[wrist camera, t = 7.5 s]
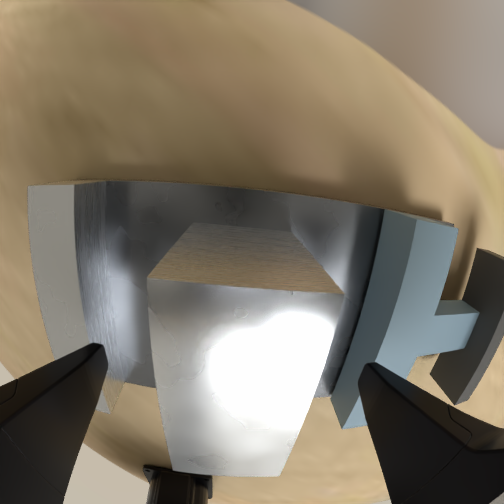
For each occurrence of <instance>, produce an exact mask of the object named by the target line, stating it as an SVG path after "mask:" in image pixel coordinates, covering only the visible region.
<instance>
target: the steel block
mask: <svg viewBox="0 0 504 504" xmlns="http://www.w3.org/2000/svg"><path fill="white" fill-rule="evenodd" d="M344 295H345V294H344V292H343V291H342V290H341V289H340V288H339V286H338V285H337V284H336V283H335V282H334V280H333V279H332V278H331V277H330V276H329V274H328V273H327V272H326V271H325V270H324V269H323V267H322V266H321V265H320V264H319V263H318V262H317V260H316V259H315V258H314V257H313V256H312V255H311V254H310V252H309V251H308V250H307V249H306V248H305V247H304V246H303V244H302V243H301V242H300V241H299V240H298V239H297V238H296V236H295V235H294V234H293V233H292V232H288V231H278V230H269V229H259V228H249V227H238V226H228V225H217V224H206V223H194V222H193V223H192V225H191V226H190V227H189V228H188V229H187V230H186V231H185V233H184V234H183V235H182V236H181V237H180V238H179V239H178V241H177V242H176V243H175V244H174V245H173V246H172V248H171V249H170V250H169V251H168V252H167V253H166V255H165V256H164V257H163V258H162V259H161V261H160V262H159V263H158V264H157V265H156V267H155V268H154V269H153V270H152V272H151V273H150V274H149V275H148V276H147V297H148V314H149V328H150V339H151V349H152V358H153V367H154V375H155V382H156V389H157V395H158V401H159V407H160V413H161V418H162V424H163V429H164V434H165V438H166V443H167V447H168V452H169V456H170V460H171V464H172V468H173V471H180V472H187V473H195V474H204V475H216V476H234V477H272V476H280V474H281V472H282V470H283V467H284V465H285V463H286V461H287V459H288V457H289V455H290V452H291V450H292V448H293V446H294V443H295V441H296V439H297V436H298V434H299V432H300V429H301V427H302V424H303V422H304V419H305V417H306V414H307V412H308V409H309V407H310V404H311V401H312V399H313V396H314V393H315V390H316V388H317V385H318V382H319V379H320V376H321V373H322V370H323V367H324V364H325V361H326V358H327V355H328V352H329V348H330V345H331V342H332V339H333V335H334V332H335V328H336V325H337V321H338V318H339V314H340V310H341V306H342V303H343V299H344Z"/></svg>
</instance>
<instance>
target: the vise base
mask: <svg viewBox="0 0 504 504" xmlns="http://www.w3.org/2000/svg"><path fill="white" fill-rule="evenodd" d="M385 209H386V210H391V211H396V212H401V213H406V214H411V215H415V216H420V217H424V218H428V219H431V220H434V221H437V222H440V223H443V224H446V225H449V226H452V227H454V224H452V223H449V222H445V221H442V220H438V219H434V218H430V217H425V216H421V215H416V214H412V213H407V212H402V211H397V210H393V209H388V208H382V207H377V206H372V205H366V204H361V203H355V202H349V201H343V200H337V199H331V198H325V197H318V196H311V195H304V194H297V193H289V192H281V191H273V190H265V189H256V188H246V187H236V186H225V185H213V184H201V183H186V182H168V181H146V180H68V181H60V182H52V183H44V184H37V185H31V186H28V226H29V239H30V250H31V258H32V266H33V273H34V279H35V285H36V290H37V295H38V300H39V305H40V309H41V313H42V318H43V321H44V325H45V329H46V333H47V336H48V340H49V343H50V346H51V349H52V353H53V356H54V359H55V360H57V359H59V358H61V357H63V356H65V355H67V354H69V353H71V352H74V351H76V350H78V349H80V348H82V347H84V346H86V345H88V344H90V343H92V342H95V343H100V344H103V345H104V347H105V351H106V355H107V360H108V370H107V374H106V377H105V380H104V384H103V387H102V390H101V394H100V397H99V401H98V404H97V406H96V409H95V410H97V411H101V412H104V413H108V414H111V412H112V410H113V408H114V406H115V403H116V401H117V399H118V397H119V394H120V392H121V390H122V388H123V385H124V383H125V382H127V383H132V384H137V385H142V386H147V387H153V388H156V382H155V375H154V367H153V358H152V349H151V339H150V328H149V314H148V297H147V276H148V275H149V274H150V273H151V272H152V270H153V269H154V268H155V267H156V265H157V264H158V263H159V262H160V261H161V259H162V258H163V257H164V256H165V255H166V253H167V252H168V251H169V250H170V249H171V248H172V246H173V245H174V244H175V243H176V242H177V241H178V239H179V238H180V237H181V236H182V235H183V234H184V233H185V231H186V230H187V229H188V228H189V227H190V226H191V225H192V223H193V222H194V223H206V224H217V225H228V226H238V227H249V228H259V229H269V230H278V231H288V232H292V233H293V234H294V235H295V236H296V238H297V239H298V240H299V241H300V242H301V243H302V244H303V246H304V247H305V248H306V249H307V250H308V251H309V252H310V254H311V255H312V256H313V257H314V258H315V259H316V260H317V262H318V263H319V264H320V265H321V266H322V267H323V269H324V270H325V271H326V272H327V273H328V274H329V276H330V277H331V278H332V279H333V280H334V282H335V283H336V284H337V285H338V286H339V288H340V289H341V290H342V291H343V292H344V294H345V295H344V299H343V303H342V306H341V310H340V314H339V318H338V321H337V325H336V328H335V332H334V335H333V339H332V342H331V345H330V348H329V352H328V355H327V358H326V361H325V364H324V367H323V370H322V373H321V376H320V379H319V382H318V385H317V388H316V390H315V393H314V396H313V398H315V397H330V396H332V394H333V391H334V389H335V386H336V384H337V381H338V379H339V376H340V374H341V371H342V368H343V366H344V363H345V360H346V357H347V355H348V352H349V349H350V346H351V343H352V340H353V337H354V334H355V331H356V328H357V324H358V321H359V318H360V315H361V311H362V308H363V304H364V301H365V297H366V294H367V290H368V286H369V282H370V278H371V274H372V270H373V266H374V261H375V257H376V253H377V248H378V243H379V238H380V233H381V228H382V222H383V217H384V211H385Z"/></svg>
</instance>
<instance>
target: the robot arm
mask: <svg viewBox="0 0 504 504" xmlns="http://www.w3.org/2000/svg"><path fill="white" fill-rule="evenodd" d="M107 370H108V360H107V355H106V351H105V347H104V345H103V344H100V343H95V342H92V343H90V344H88V345H86V346H84V347H82V348H80V349H78V350H76V351H74V352H71V353H69V354H67V355H65V356H63V357H61V358H59V359H57V360H55V361H53V362H51V363H49V364H47V365H45V366H43V367H40V368H38V369H36V370H34V371H32V372H30V373H28V374H26V375H24V376H22V377H20V378H18V379H15V380H13V381H11V382H9V383H7V384H5V385H2V386H0V504H63V501H64V496H65V493H66V490H67V487H68V483H69V480H70V477H71V474H72V471H73V468H74V465H75V462H76V459H77V456H78V453H79V450H80V447H81V445H82V442H83V440H84V437H85V434H86V432H87V429H88V426H89V424H90V421H91V419H92V416H93V414H94V411H95V409H96V406H97V404H98V401H99V397H100V394H101V390H102V387H103V384H104V380H105V377H106V374H107ZM358 389H359V393H360V398H361V402H362V407H363V411H364V415H365V419H366V423H367V426H368V429H369V432H370V435H371V438H372V441H373V444H374V447H375V450H376V453H377V456H378V459H379V462H380V466H381V469H382V472H383V475H384V479H385V482H386V485H387V489H388V492H389V496H390V499H391V503H392V504H504V429H503V428H498V427H496V426H493V425H491V424H488V423H486V422H484V421H481V420H479V419H477V418H474V417H472V416H470V415H468V414H466V413H464V412H462V411H460V410H458V409H456V408H454V407H453V406H451V405H449V404H447V403H445V402H444V401H442V400H440V399H438V398H437V397H435V396H433V395H431V394H430V393H428V392H426V391H424V390H423V389H421V388H419V387H417V386H416V385H414V384H412V383H411V382H409V381H407V380H406V379H404V378H402V377H400V376H399V375H397V374H395V373H394V372H392V371H390V370H389V369H387V368H385V367H384V366H382V365H380V364H379V363H377V362H370V363H366V364H365V365H364V367H363V369H362V372H361V374H360V376H359V379H358ZM143 472H144V474H145V476H146V478H147V480H148V482H149V484H150V487H149V492H148V498H147V502H146V504H208V499H211V498H212V476H211V475H204V474H195V473H187V472H180V471H173V470H169V469H163V468H158V467H153V466H148V465H144V466H143Z"/></svg>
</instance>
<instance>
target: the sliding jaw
mask: <svg viewBox="0 0 504 504" xmlns="http://www.w3.org/2000/svg"><path fill="white" fill-rule="evenodd" d="M457 234H458V228H455V227H452V226H449V225H446V224H443V223H440V222H437V221H434V220H431V219H428V218H424V217H420V216H415V215H411V214H406V213H401V212H396V211H391V210H386V209H385V211H384V217H383V222H382V228H381V233H380V238H379V243H378V248H377V253H376V257H375V261H374V266H373V270H372V274H371V278H370V282H369V286H368V290H367V294H366V297H365V301H364V304H363V308H362V311H361V315H360V318H359V321H358V324H357V328H356V331H355V334H354V337H353V340H352V343H351V346H350V349H349V352H348V355H347V357H346V360H345V363H344V366H343V368H342V371H341V374H340V376H339V379H338V381H337V384H336V386H335V389H334V391H333V394H332V396H331V398H330V399H331V402H332V404H333V407H334V410H335V412H336V415H337V418H338V420H339V423H340V426H341V428H342V429H348V428H355V427H361V426H366V425H367V423H366V419H365V415H364V411H363V407H362V402H361V398H360V393H359V389H358V379H359V376H360V374H361V372H362V369H363V367H364V365H365V364H366V363H370V362H377V363H379V364H380V365H382V366H384V367H385V368H387V369H389V370H390V371H392V372H394V373H395V374H397V375H399V376H400V377H402V378H404V379H406V378H407V376H408V374H409V372H410V370H411V368H412V366H413V364H414V362H415V360H416V358H417V356H424V355H431V354H437V353H440V354H439V357H438V359H437V361H436V363H435V365H434V367H433V369H432V370H431V372H430V375H431V376H432V378H433V379H434V380H435V381H436V383H437V384H438V385H439V386H440V388H441V389H442V390H443V391H444V393H445V394H446V395H447V396H448V398H449V399H450V400H451V402H452V403H453V404H454V405H457V404H459V403H462V402H464V401H467V400H468V399H469V398H470V396H471V395H472V393H473V391H474V390H475V388H476V387H477V385H478V383H479V382H480V380H481V378H482V377H483V375H484V373H485V371H486V369H487V368H488V366H489V364H490V362H491V360H492V358H493V356H494V354H495V352H496V350H497V348H498V346H499V344H500V342H501V340H502V338H503V336H504V257H503V256H500V255H498V254H496V253H494V252H491V251H489V250H484V249H480V248H477V250H476V254H475V258H474V262H473V266H472V269H471V273H470V276H469V280H468V283H467V286H466V289H465V292H464V295H463V298H462V300H440V297H441V294H442V291H443V288H444V285H445V282H446V278H447V275H448V271H449V268H450V264H451V260H452V256H453V252H454V248H455V244H456V239H457Z"/></svg>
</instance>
